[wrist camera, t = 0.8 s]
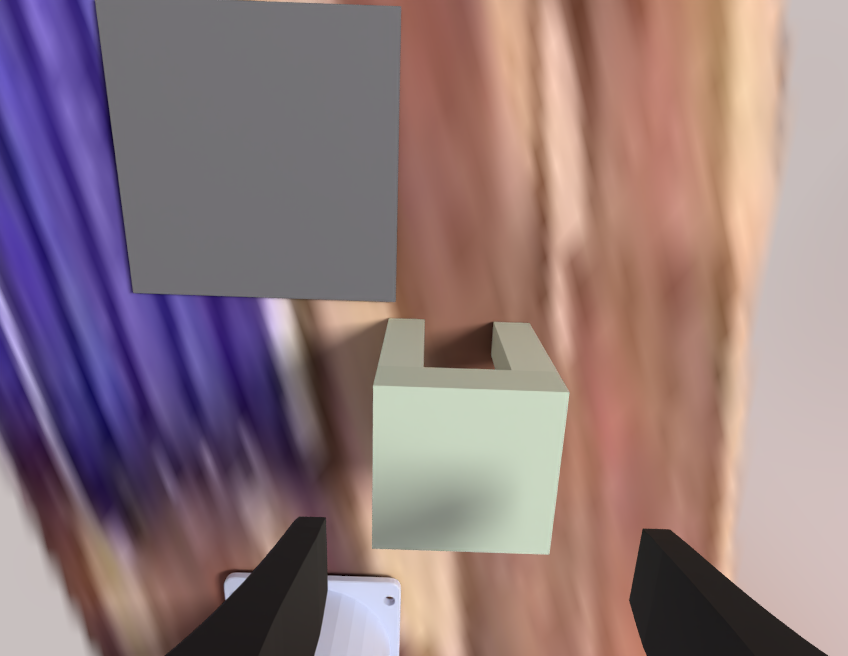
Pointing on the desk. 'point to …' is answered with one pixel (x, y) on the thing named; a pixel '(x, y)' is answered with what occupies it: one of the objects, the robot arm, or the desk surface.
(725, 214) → the desk surface
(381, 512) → the slotted sage cube
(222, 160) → the felt pad
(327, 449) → the desk surface
